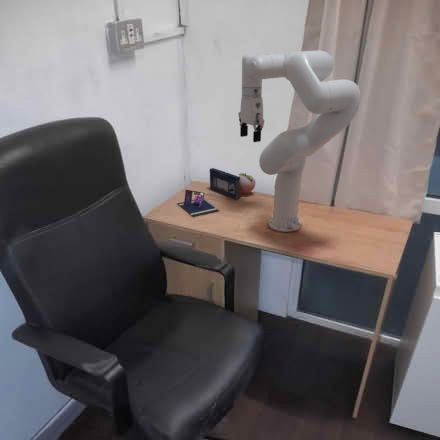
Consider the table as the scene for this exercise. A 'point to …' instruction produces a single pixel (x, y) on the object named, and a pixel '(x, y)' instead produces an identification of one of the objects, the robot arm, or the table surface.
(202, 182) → the table surface
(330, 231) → the table surface
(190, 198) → the monster skateboard toy
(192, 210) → the cloth
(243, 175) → the decorative fruit
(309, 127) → the robot arm
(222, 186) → the vhs cassette tape
